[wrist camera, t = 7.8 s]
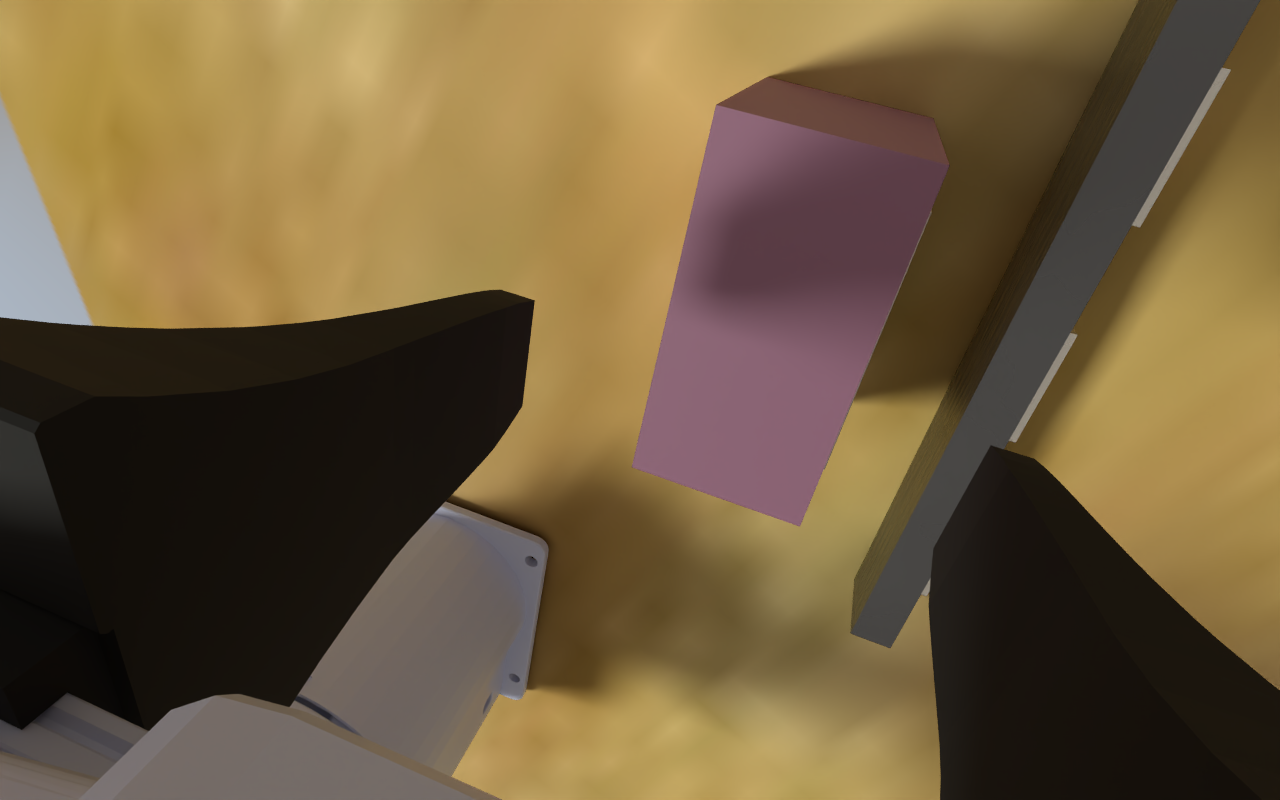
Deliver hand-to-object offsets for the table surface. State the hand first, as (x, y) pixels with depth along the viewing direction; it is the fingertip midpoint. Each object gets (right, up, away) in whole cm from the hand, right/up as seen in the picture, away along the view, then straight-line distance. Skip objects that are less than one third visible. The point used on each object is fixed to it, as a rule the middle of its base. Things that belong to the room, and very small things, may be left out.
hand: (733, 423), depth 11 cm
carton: (+3, +4, +8) cm, 10 cm away
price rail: (+8, +2, +7) cm, 11 cm away
